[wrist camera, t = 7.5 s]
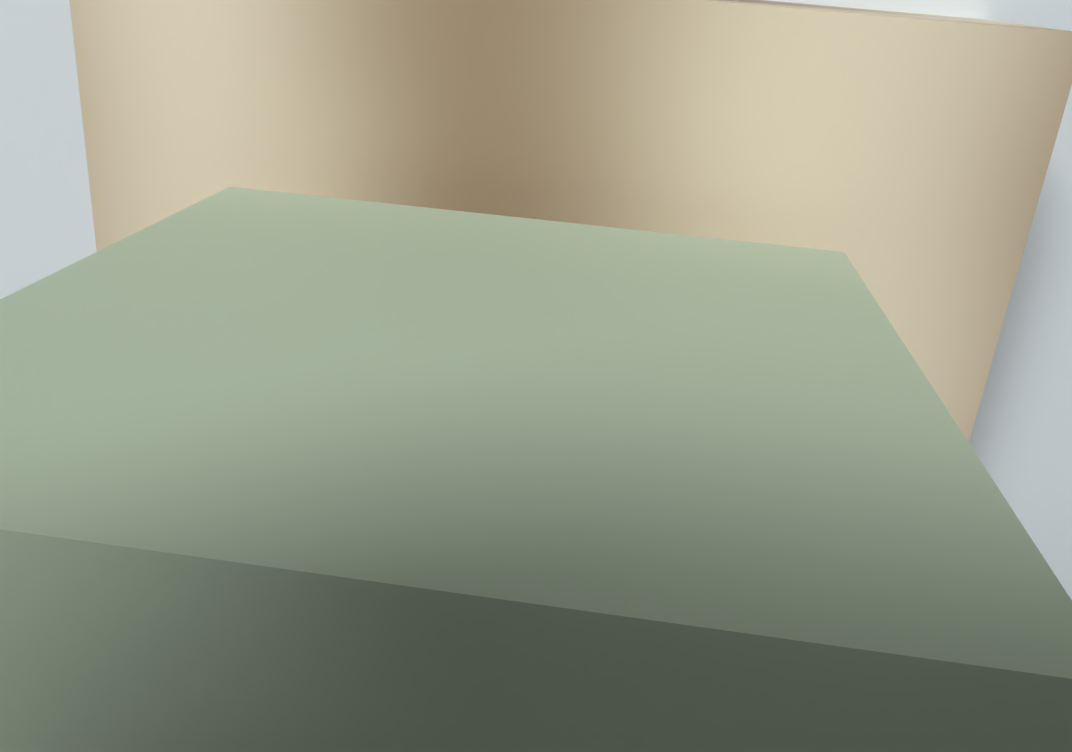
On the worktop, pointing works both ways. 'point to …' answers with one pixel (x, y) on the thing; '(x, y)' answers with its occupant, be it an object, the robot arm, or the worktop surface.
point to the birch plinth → (608, 129)
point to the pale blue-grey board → (1059, 3)
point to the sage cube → (496, 500)
